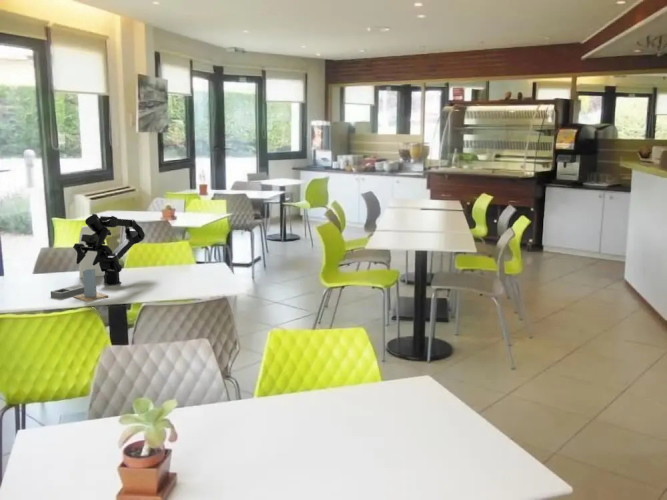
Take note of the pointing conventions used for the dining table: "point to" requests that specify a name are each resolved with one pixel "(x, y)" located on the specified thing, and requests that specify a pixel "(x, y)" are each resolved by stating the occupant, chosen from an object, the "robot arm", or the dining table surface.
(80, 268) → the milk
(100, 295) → the cork mat
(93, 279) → the plug
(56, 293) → the gray slotted board
